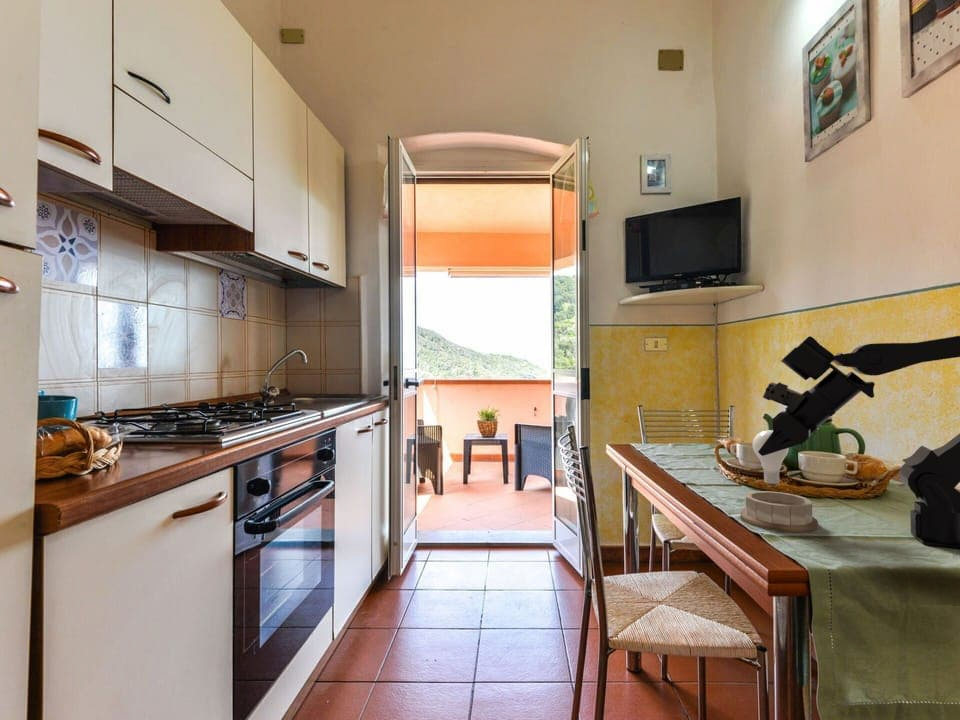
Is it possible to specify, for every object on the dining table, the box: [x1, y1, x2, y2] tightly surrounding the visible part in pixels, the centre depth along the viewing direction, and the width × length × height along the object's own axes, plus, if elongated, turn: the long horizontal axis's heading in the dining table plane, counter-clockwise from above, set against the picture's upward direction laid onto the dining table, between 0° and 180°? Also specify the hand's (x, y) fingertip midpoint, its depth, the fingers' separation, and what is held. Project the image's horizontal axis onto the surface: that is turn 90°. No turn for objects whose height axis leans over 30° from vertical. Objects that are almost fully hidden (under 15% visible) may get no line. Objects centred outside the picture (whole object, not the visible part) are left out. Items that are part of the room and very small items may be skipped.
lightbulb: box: [752, 429, 790, 487], centre depth 100 cm, size 6×6×11 cm
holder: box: [740, 490, 819, 533], centre depth 98 cm, size 13×13×4 cm
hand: (763, 451), depth 101 cm, fingers closed on lightbulb, 6 cm apart
